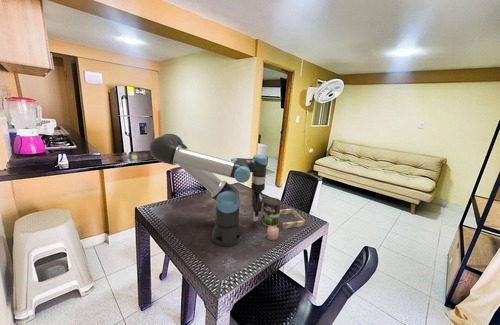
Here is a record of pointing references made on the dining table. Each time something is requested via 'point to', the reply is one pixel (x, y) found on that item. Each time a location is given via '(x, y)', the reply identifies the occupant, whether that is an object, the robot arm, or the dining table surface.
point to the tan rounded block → (272, 232)
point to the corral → (293, 224)
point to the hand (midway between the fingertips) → (255, 220)
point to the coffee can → (271, 211)
